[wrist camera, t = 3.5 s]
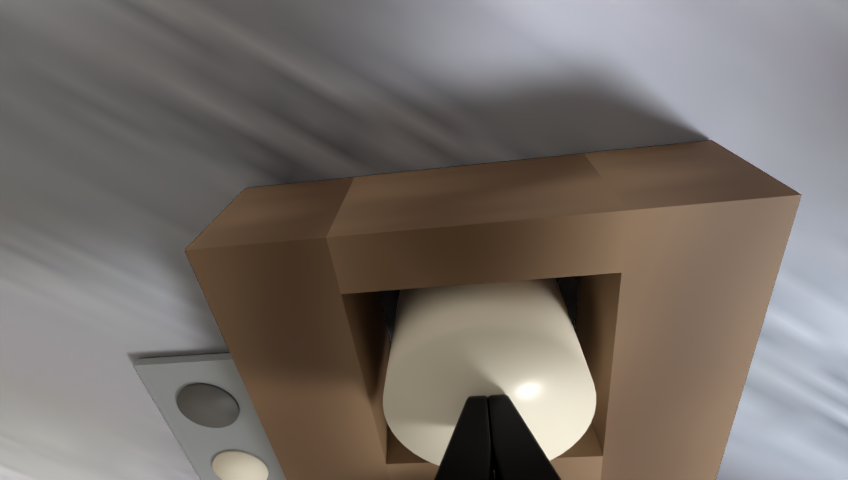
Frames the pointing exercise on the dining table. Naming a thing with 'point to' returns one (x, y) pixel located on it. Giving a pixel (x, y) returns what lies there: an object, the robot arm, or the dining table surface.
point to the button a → (486, 363)
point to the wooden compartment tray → (499, 262)
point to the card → (211, 416)
